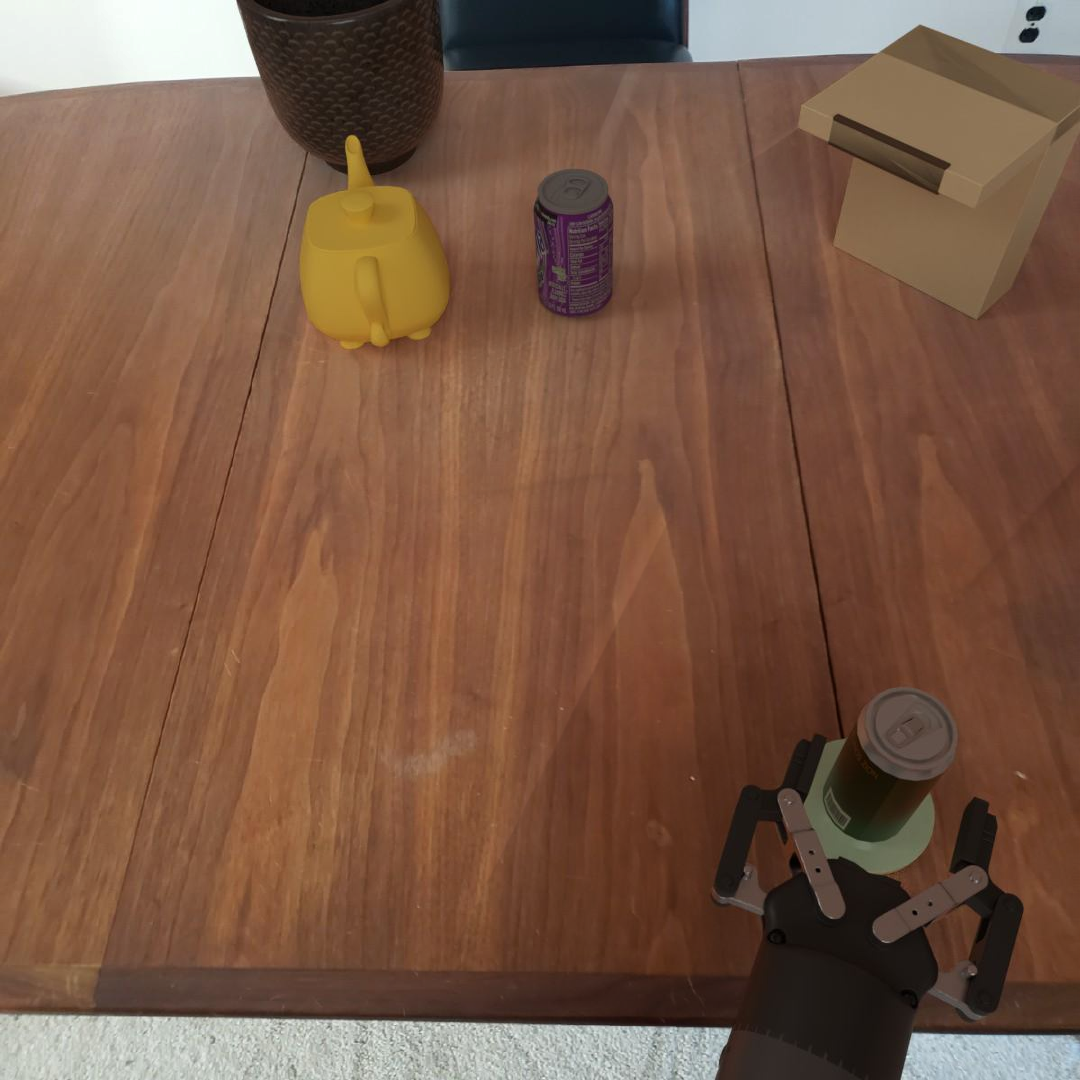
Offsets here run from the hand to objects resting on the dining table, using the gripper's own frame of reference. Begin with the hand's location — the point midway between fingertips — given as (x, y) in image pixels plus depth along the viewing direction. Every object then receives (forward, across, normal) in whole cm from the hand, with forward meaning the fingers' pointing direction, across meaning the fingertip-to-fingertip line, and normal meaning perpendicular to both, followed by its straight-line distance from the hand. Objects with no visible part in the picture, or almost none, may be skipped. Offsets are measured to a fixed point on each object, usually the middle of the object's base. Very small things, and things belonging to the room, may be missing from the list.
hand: (895, 771), depth 52 cm
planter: (+55, +70, +12) cm, 90 cm away
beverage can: (+41, +38, +12) cm, 57 cm away
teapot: (+33, +55, +12) cm, 65 cm away
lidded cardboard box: (+55, +10, +12) cm, 57 cm away
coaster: (+3, 0, +12) cm, 12 cm away
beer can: (+3, 0, +12) cm, 12 cm away
